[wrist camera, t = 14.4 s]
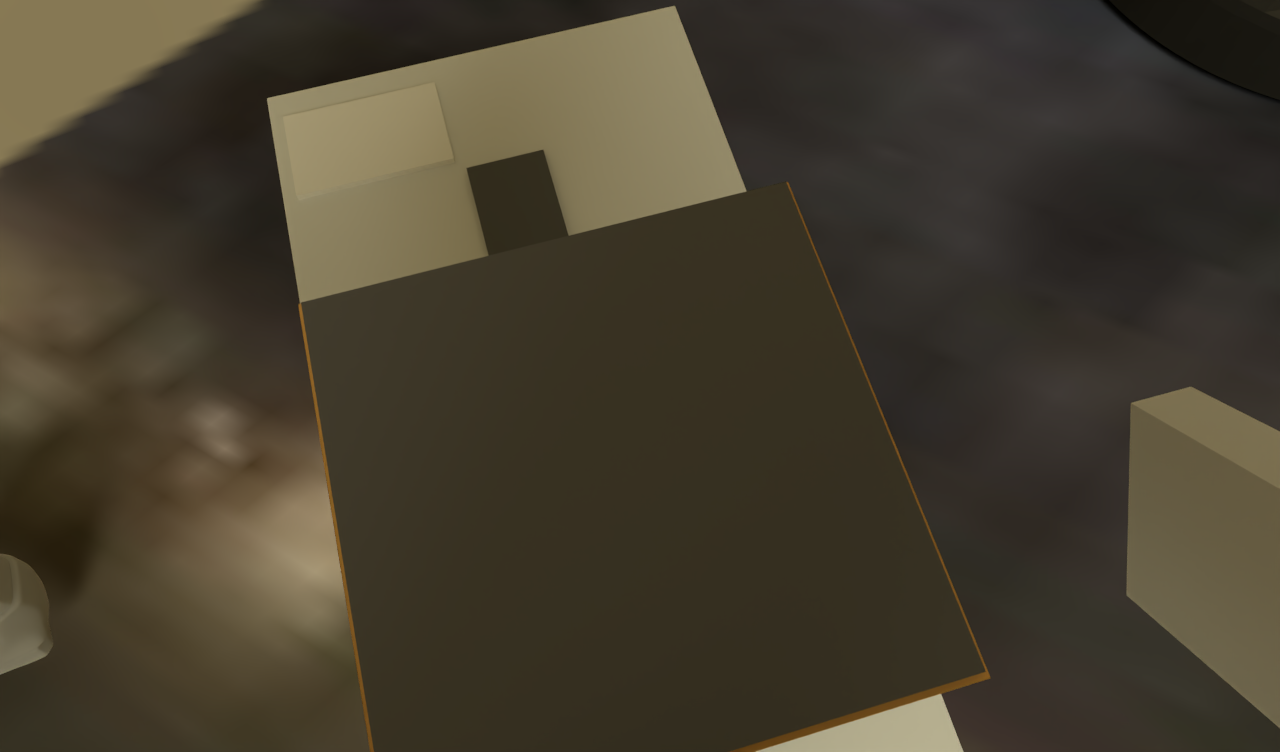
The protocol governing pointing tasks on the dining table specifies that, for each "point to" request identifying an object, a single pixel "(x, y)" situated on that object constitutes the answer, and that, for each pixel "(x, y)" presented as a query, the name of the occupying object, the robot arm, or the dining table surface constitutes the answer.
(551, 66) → the switch box
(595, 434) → the lever
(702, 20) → the dining table surface
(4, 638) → the mug
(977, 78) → the dining table surface
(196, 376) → the dining table surface
